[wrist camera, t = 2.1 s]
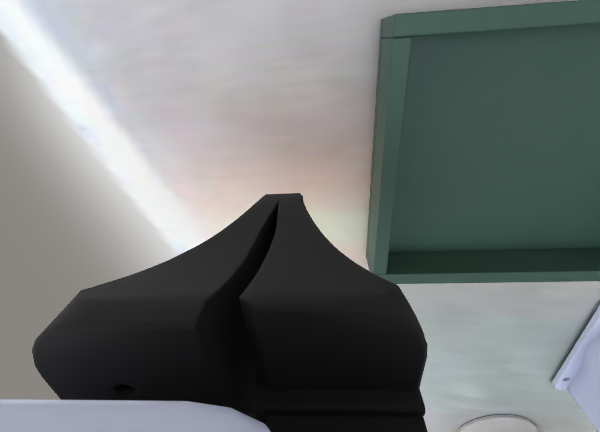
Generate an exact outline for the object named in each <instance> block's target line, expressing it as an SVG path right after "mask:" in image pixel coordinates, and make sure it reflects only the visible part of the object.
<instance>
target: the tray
mask: <svg viewBox="0 0 600 432" xmlns="http://www.w3.org/2000/svg"><path fill="white" fill-rule="evenodd" d="M366 258H367V262H368V266H369V270H370V272H371V273H373V274H375V275H377V276H379V277H381V278H383V279H385V280H388V281H390V282H392V283H394V284H419V283H490V282H561V281H600V0H577V1H563V2H550V3H537V4H524V5H510V6H497V7H484V8H471V9H457V10H444V11H431V12H418V13H405V14H395V15H392V16H389V17H386V18H383V19H381V30H380V45H379V61H378V77H377V93H376V109H375V125H374V140H373V156H372V172H371V188H370V204H369V220H368V236H367V251H366Z"/></svg>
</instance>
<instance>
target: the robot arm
mask: <svg viewBox="0 0 600 432" xmlns="http://www.w3.org/2000/svg"><path fill="white" fill-rule="evenodd" d="M32 353H33V358H34V363H35V366H36V368H37V370H38V371H39V373H40V374H41V376H42V377H43V378H44V380H45V381H46V382H47V383H48V385H49V386H50V387H51V388H52V389H53V390H54V392H55V393H56V394H57V395H58V396H59V398H60V399H61V400H33V399H27V400H26V399H0V432H427V429H426V425H425V422H424V418H423V416H424V414H425V406H424V402H423V399H422V396H421V392H420V389H419V387H420V383H421V379H422V375H423V371H424V366H425V362H426V358H427V343H426V340H425V337H424V333H423V331H422V328H421V326H420V324H419V321H418V319H417V317H416V315H415V314H414V312H413V310H412V308H411V306H410V304H409V303H408V301H407V299H406V298H405V296H404V294H403V293H402V291H401V289H400V288H399V286H397V285H396V284H394V283H392V282H390V281H388V280H385V279H383V278H381V277H379V276H377V275H375V274H373V273H371V272H369V271H368V270H366V269H364V268H363V267H361V266H359V265H358V264H356V263H355V262H353V261H352V260H350V259H349V258H348V257H346V256H345V255H344V254H342V253H341V252H340V251H339V250H338V249H337V248H335V247H334V246H333V245H332V244H331V243H330V242H329V241H328V239H327V238H326V237H325V236H324V235H323V234H322V233H321V231H320V230H319V229H318V227H317V226H316V225H315V223H314V221H313V220H312V218H311V217H310V215H309V213H308V211H307V209H306V207H305V205H304V202H303V196H302V195H301V194H300V193H293V194H266V195H265V196H263V197H262V198H261V199H260V200H259V201H258V202H256V203H255V204H254V205H253V206H252V207H251V208H250V209H249V210H247V211H246V212H245V213H244V214H243V215H242V216H240V217H239V218H238V219H237V220H235V221H234V222H233V223H231V224H230V225H229V226H227V227H226V228H225V229H223V230H222V231H221V232H219V233H218V234H216V235H215V236H213V237H212V238H210V239H208V240H207V241H205V242H203V243H202V244H200V245H198V246H196V247H194V248H192V249H190V250H188V251H186V252H184V253H182V254H180V255H178V256H176V257H174V258H172V259H170V260H168V261H166V262H163V263H161V264H159V265H156V266H154V267H151V268H149V269H146V270H144V271H141V272H138V273H135V274H133V275H130V276H127V277H124V278H121V279H117V280H114V281H111V282H108V283H104V284H101V285H98V286H95V287H92V288H88V289H85V290H81V291H80V292H79V293H78V295H76V297H75V298H74V299H73V300H72V301H71V302H70V303H69V304H68V305H67V306H66V307H65V308H64V310H63V311H62V312H61V313H60V314H59V315H58V316H57V317H56V318H55V319H54V320H53V322H52V323H51V324H50V325H49V326H48V327H47V328H46V329H45V330H44V331H43V332H42V333H41V334H40V335H39V336H38V338H37V339H36V340H35V343H34V346H33V349H32ZM552 385H553V387H554V388H555V389H556V390H567V391H568V392H569V393H570V395H571V396H572V398H573V399H574V400H575V402H576V403H577V404H578V406H579V407H580V409H581V410H582V411H583V413H584V414H585V416H586V417H587V418H588V420H589V421H590V422H591V424H592V425H593V427H594V428H595V429H596V431H597V432H600V305H599V307H598V308H597V310H596V312H595V313H594V315H593V317H592V318H591V320H590V321H589V323H588V325H587V326H586V328H585V329H584V331H583V333H582V334H581V336H580V337H579V339H578V341H577V342H576V344H575V346H574V347H573V349H572V350H571V352H570V354H569V355H568V357H567V358H566V360H565V362H564V363H563V365H562V367H561V368H560V370H559V371H558V373H557V375H556V376H555V378H554V379H553V381H552Z"/></svg>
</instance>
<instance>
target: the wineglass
mask: <svg viewBox="0 0 600 432" xmlns="http://www.w3.org/2000/svg"><path fill="white" fill-rule="evenodd" d="M457 432H537V430H536V427H535V425H534V424H533V423H532V422H531V421H530V420H528V419H526V418H523V417H519V416H515V415H492V416H485V417H481V418H478V419H475V420H472V421H470V422H468V423H466V424H464V425H463V426H461V427H460V428H459V429H458V430H457Z"/></svg>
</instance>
